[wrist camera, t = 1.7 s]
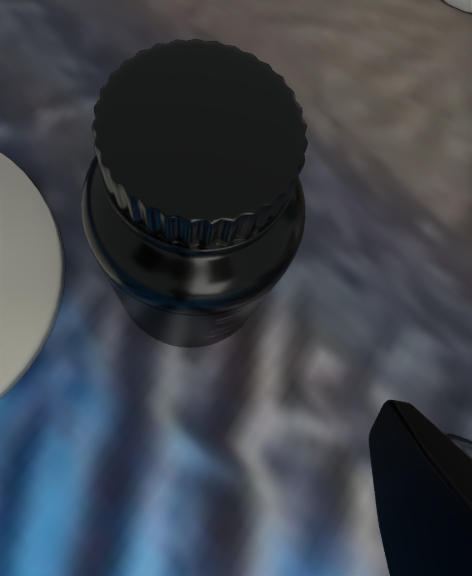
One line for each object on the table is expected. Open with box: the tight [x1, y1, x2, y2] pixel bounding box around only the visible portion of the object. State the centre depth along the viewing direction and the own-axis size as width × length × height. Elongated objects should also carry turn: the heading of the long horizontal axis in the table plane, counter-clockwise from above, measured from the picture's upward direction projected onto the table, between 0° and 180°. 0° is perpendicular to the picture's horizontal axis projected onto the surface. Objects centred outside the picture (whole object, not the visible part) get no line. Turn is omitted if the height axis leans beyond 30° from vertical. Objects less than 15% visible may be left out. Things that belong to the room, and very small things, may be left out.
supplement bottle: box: [81, 39, 308, 348], centre depth 15 cm, size 7×7×12 cm
